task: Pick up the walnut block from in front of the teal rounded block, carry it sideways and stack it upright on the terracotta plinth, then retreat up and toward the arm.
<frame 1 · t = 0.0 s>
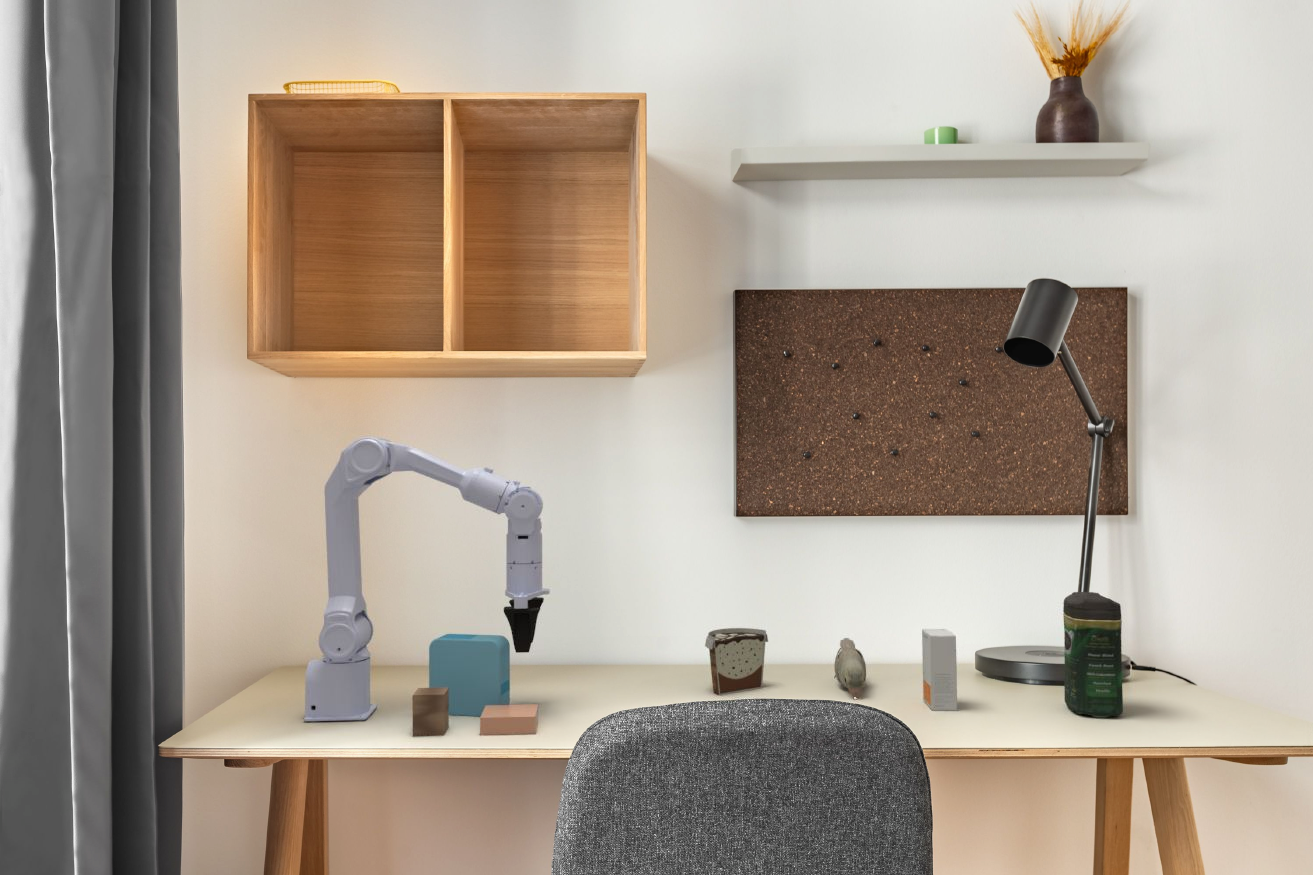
hand: (524, 647, 149), 10 cm above the table, fingers open, 7 cm apart
terracotta plinth: (509, 727, 139), on the table
walnut block: (430, 731, 137), on the table
skincare box: (939, 707, 150), on the table
food container: (730, 689, 163), on the table
teal rounded block: (469, 713, 148), on the table
coffee jar: (1093, 712, 147), on the table
decorative bird: (850, 690, 163), on the table
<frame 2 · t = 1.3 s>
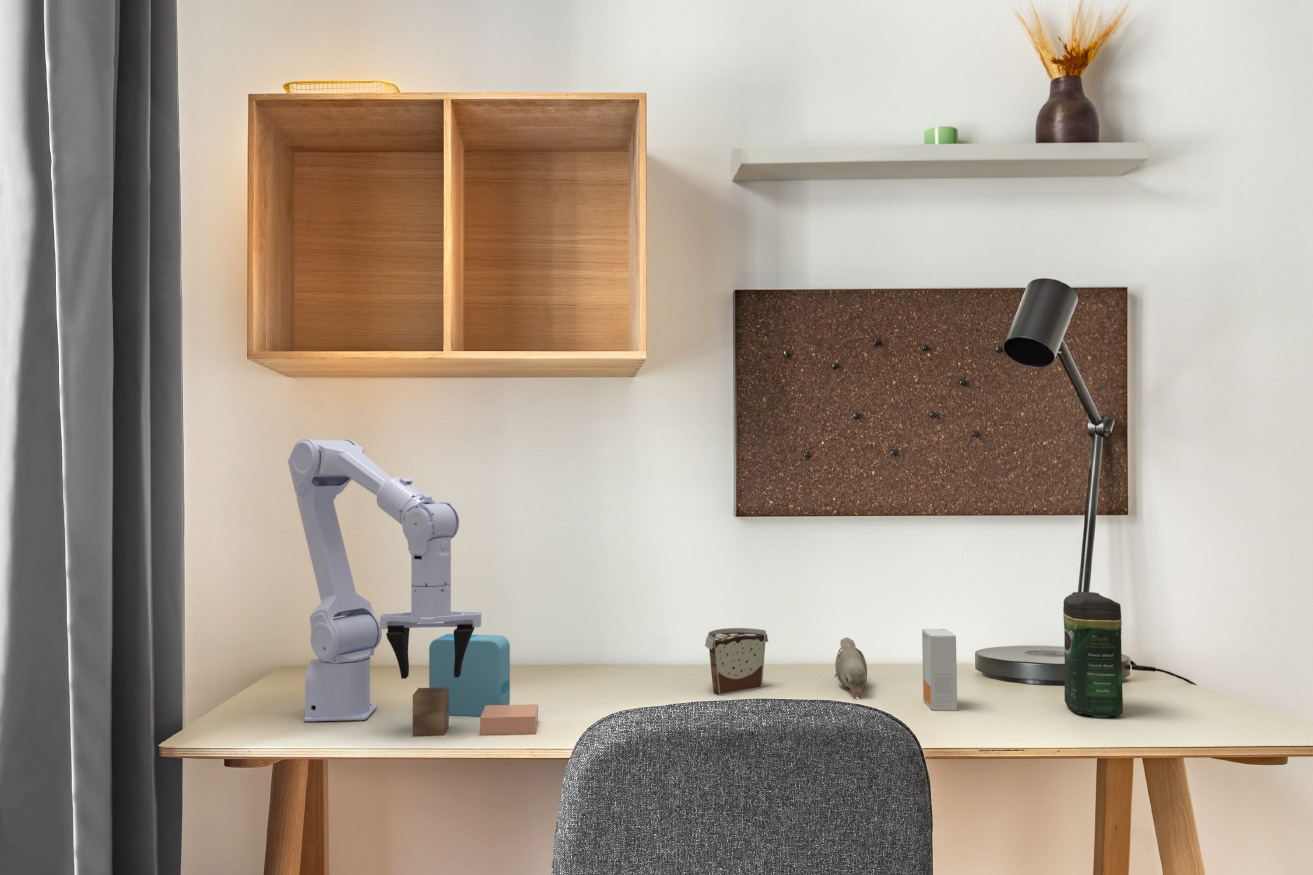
hand: (431, 676, 138), 8 cm above the table, fingers open, 7 cm apart
nothing on the table moved.
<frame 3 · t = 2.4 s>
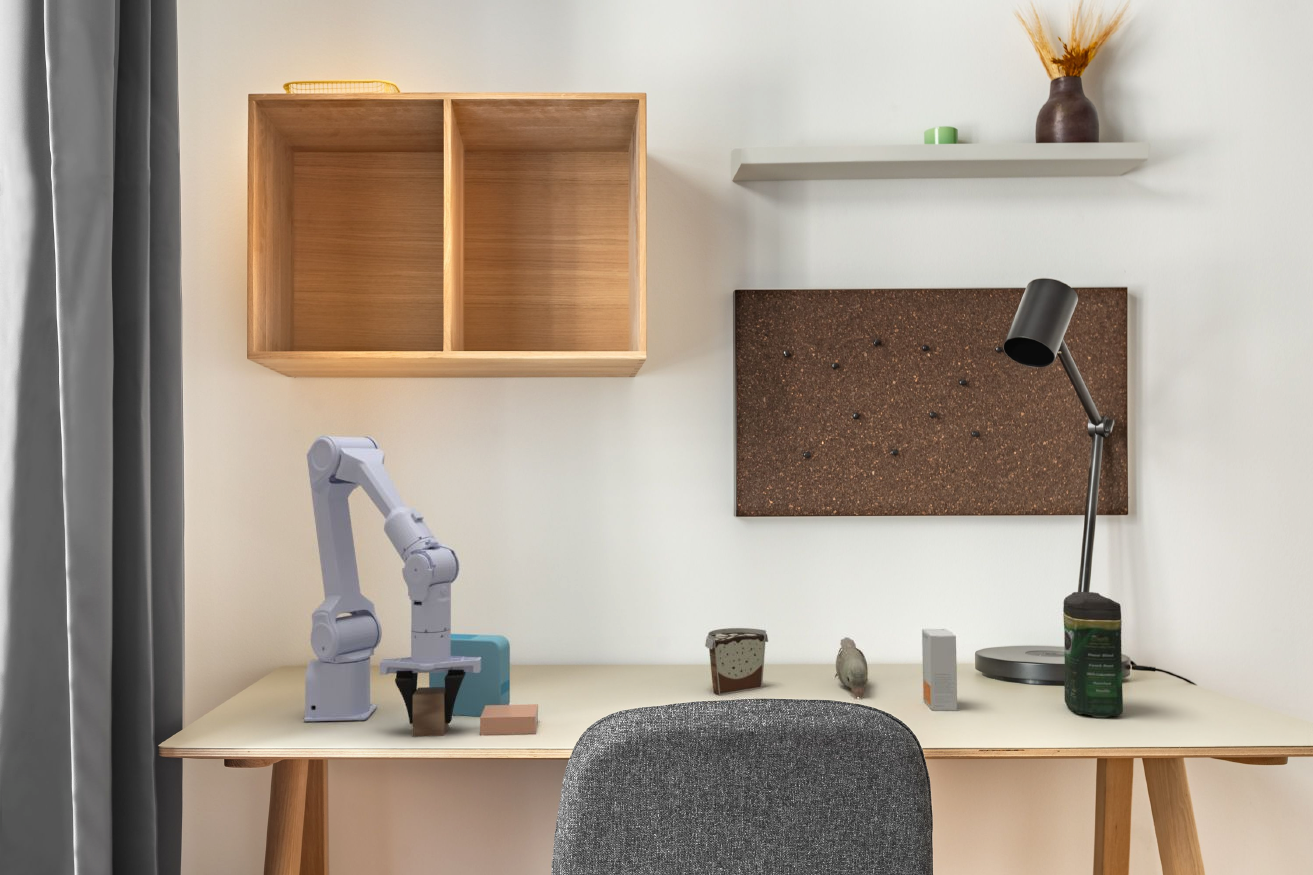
hand: (430, 721, 137), 1 cm above the table, fingers closed on walnut block, 4 cm apart
walnut block: (430, 731, 137), on the table, touching gripper
everything else where it was.
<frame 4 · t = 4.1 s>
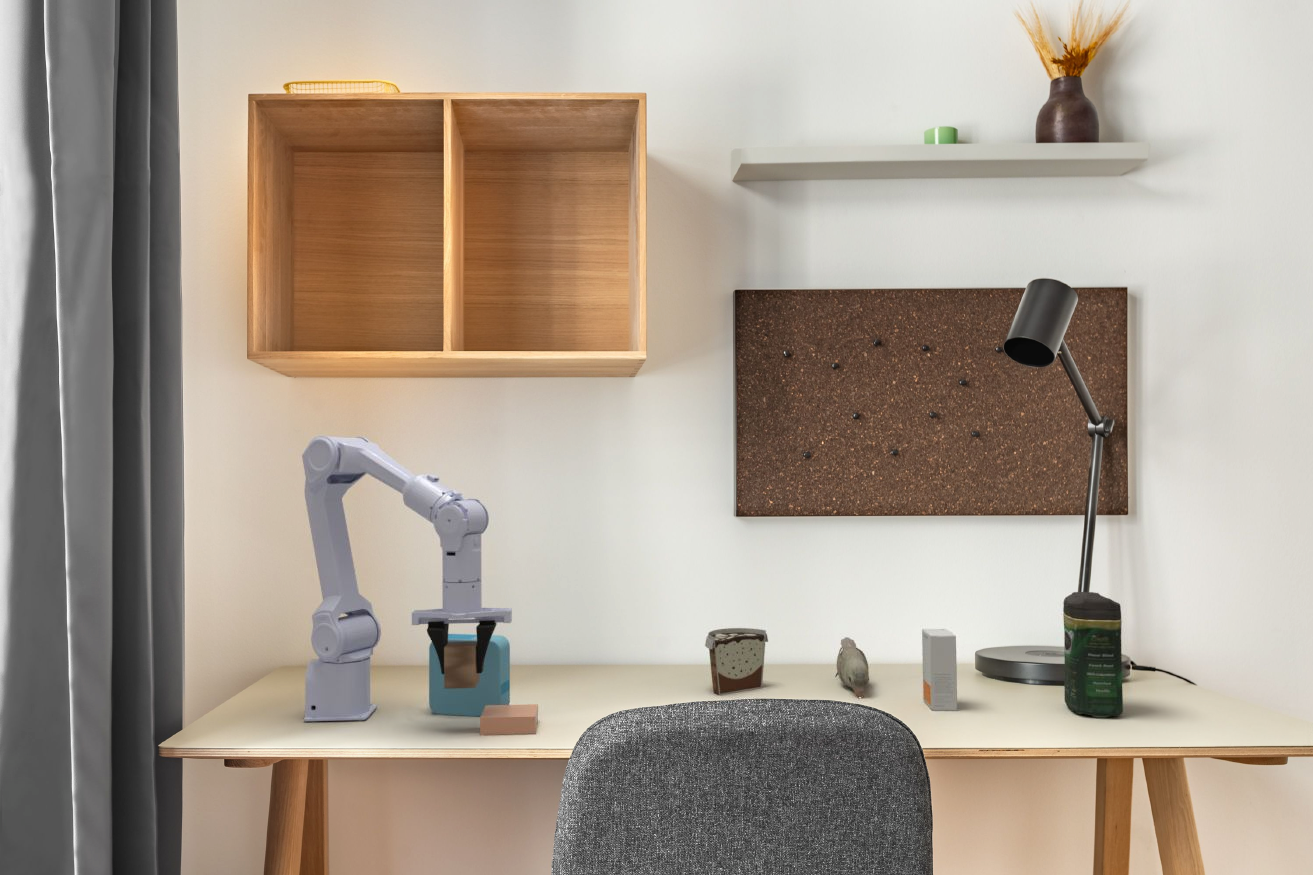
hand: (462, 672, 138), 9 cm above the table, fingers closed on walnut block, 4 cm apart
walnut block: (462, 684, 138), point 7 cm above the table, touching gripper
everything else where it was.
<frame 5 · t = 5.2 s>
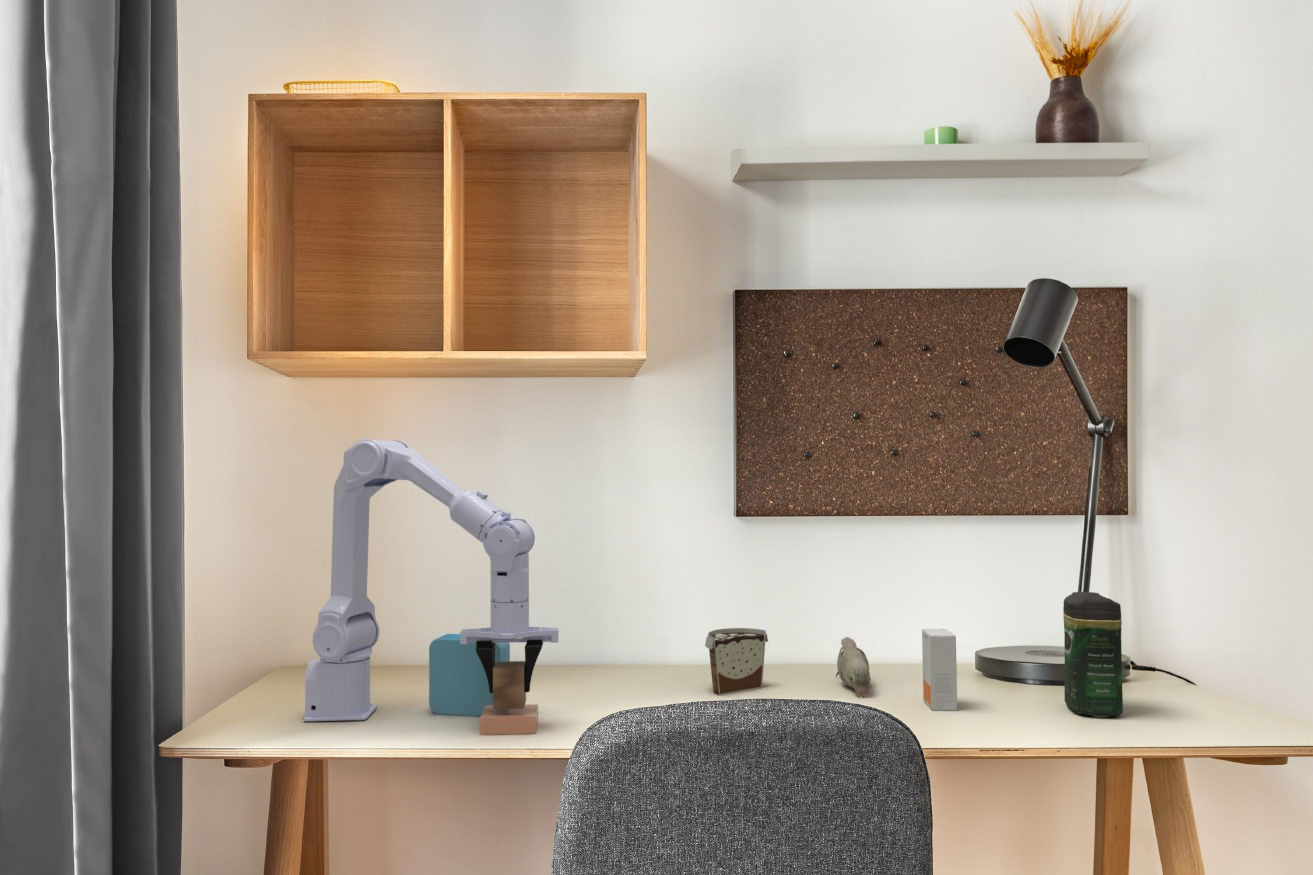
hand: (509, 691, 139), 5 cm above the table, fingers closed on walnut block, 4 cm apart
walnut block: (509, 704, 139), point 3 cm above the table, touching gripper
when the fingers open (5 cm above the table, at t = 5.8 s): walnut block stays where it is, resting on terracotta plinth.
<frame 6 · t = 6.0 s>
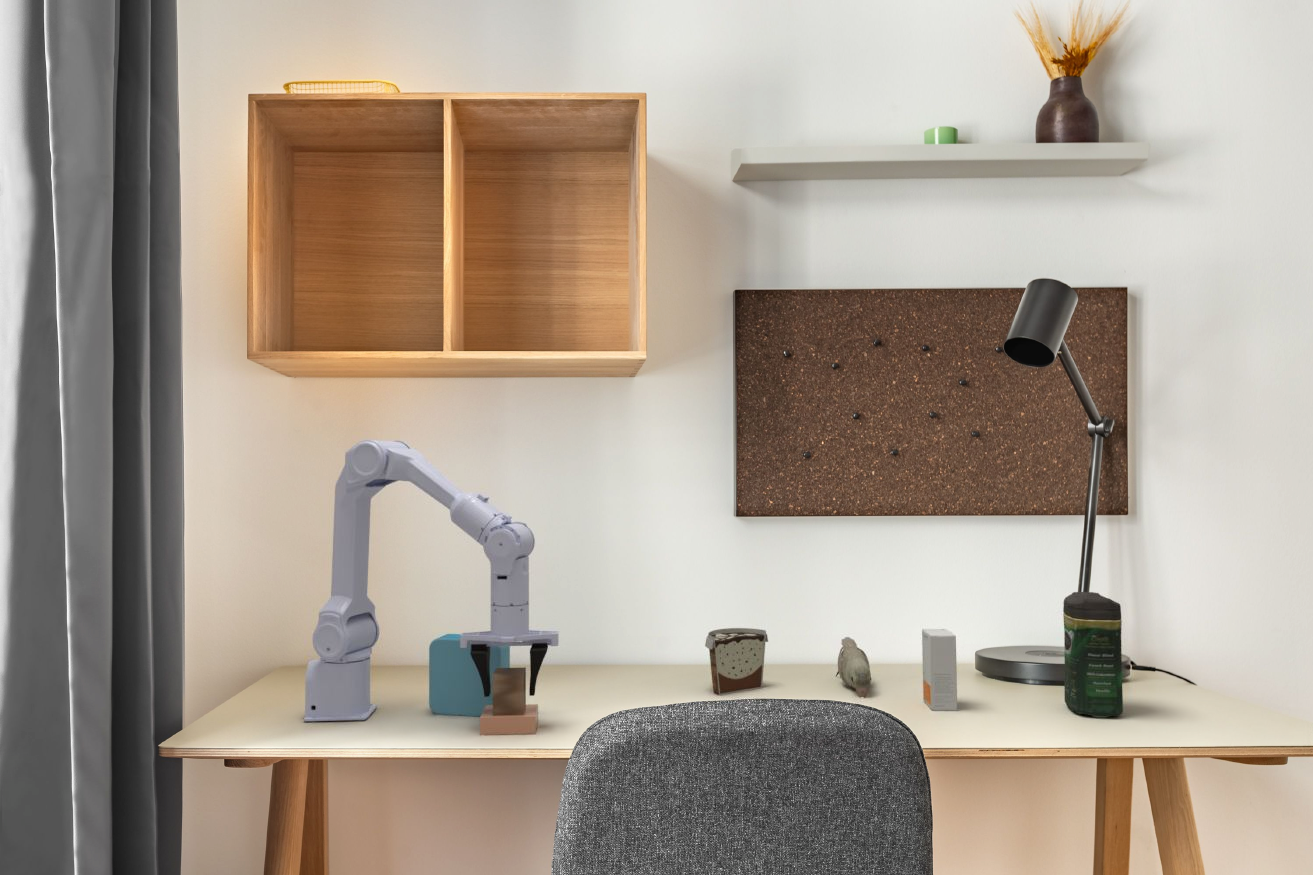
hand: (509, 694, 139), 5 cm above the table, fingers open, 6 cm apart
walnut block: (509, 711, 139), point 2 cm above the table, touching terracotta plinth
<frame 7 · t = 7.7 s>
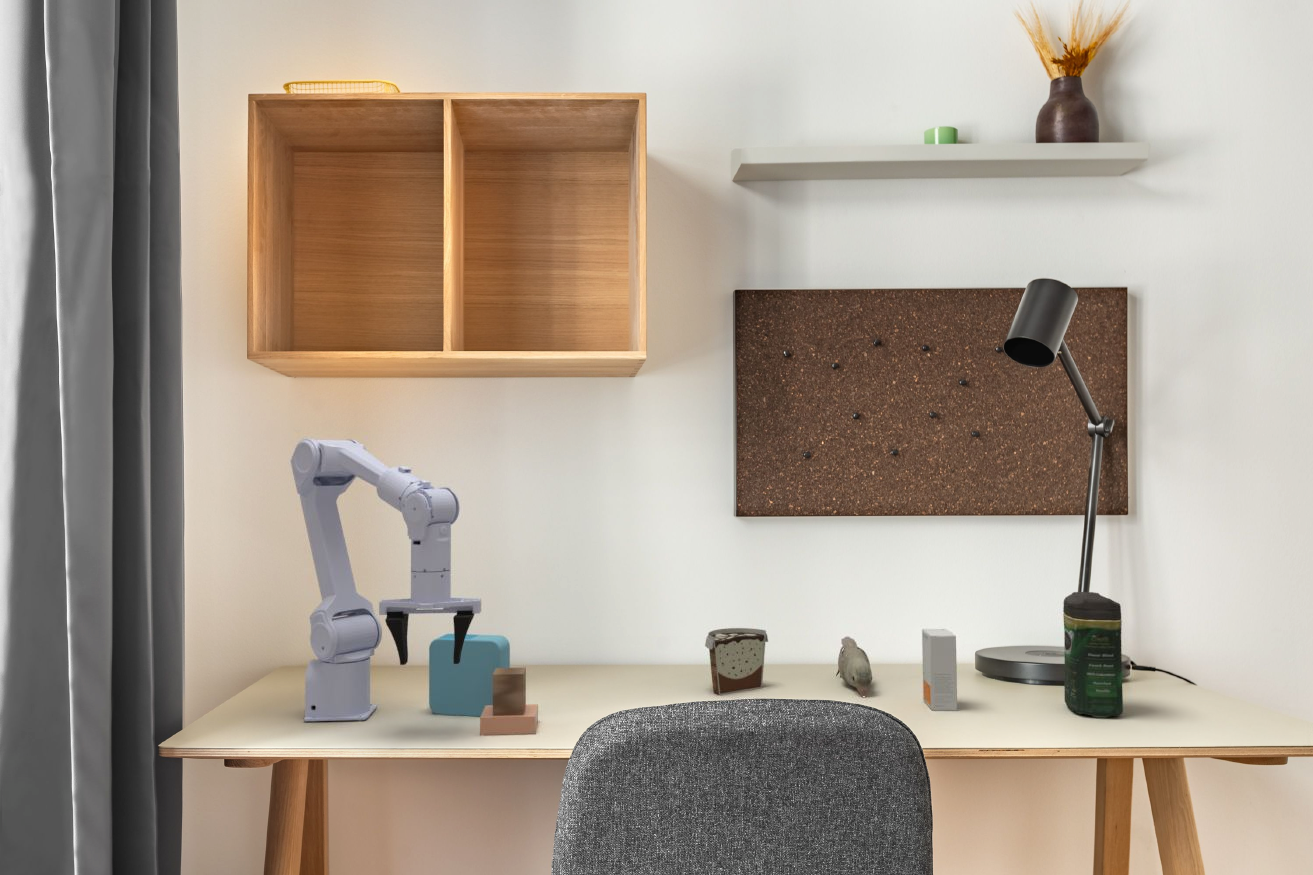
hand: (430, 662, 136), 10 cm above the table, fingers open, 7 cm apart
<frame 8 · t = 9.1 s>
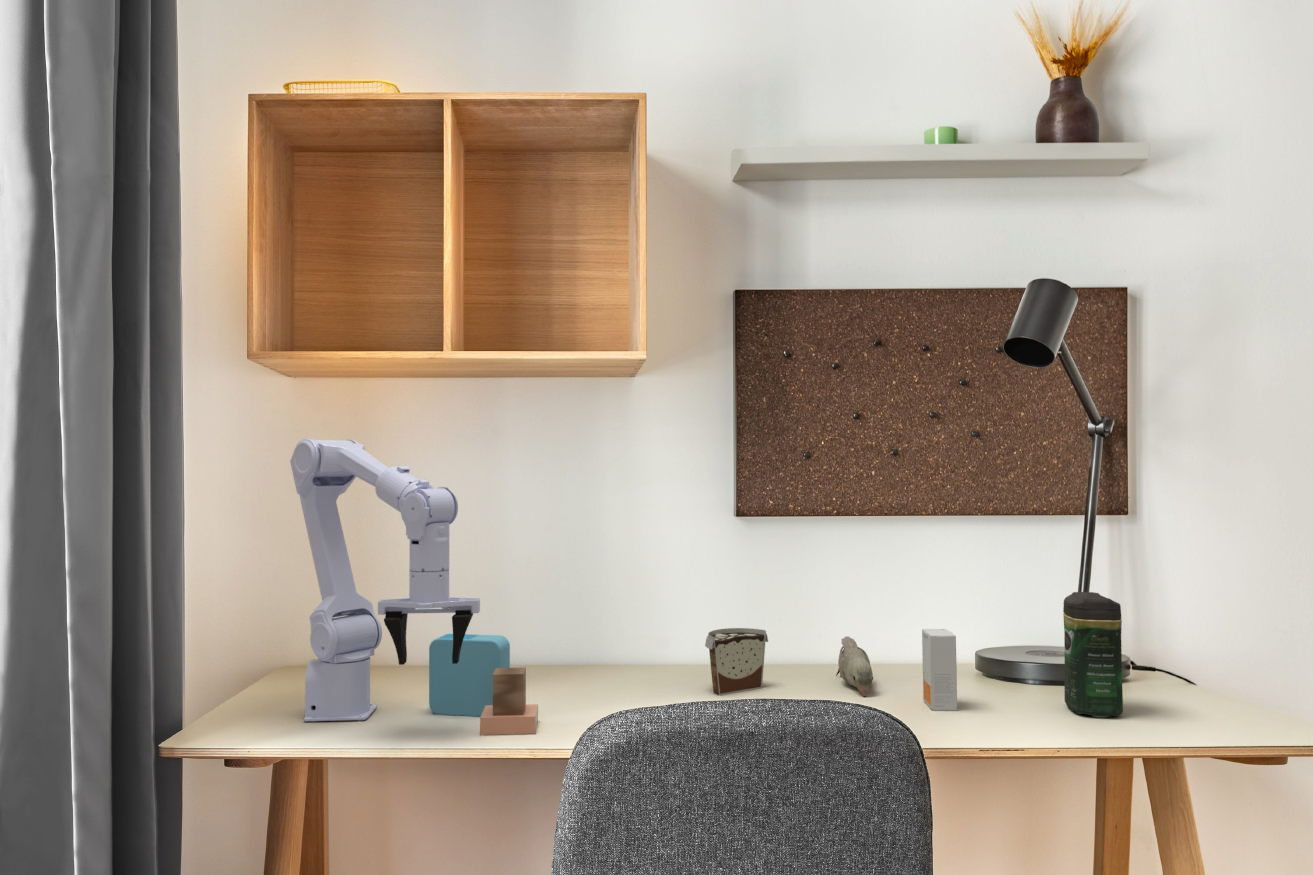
hand: (429, 662, 136), 10 cm above the table, fingers open, 7 cm apart
at the end: walnut block 0.3 cm off-centre on the terracotta plinth, point 2.5 cm above the terracotta plinth's base; walnut block tilted 0°; the gripper is holding nothing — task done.
